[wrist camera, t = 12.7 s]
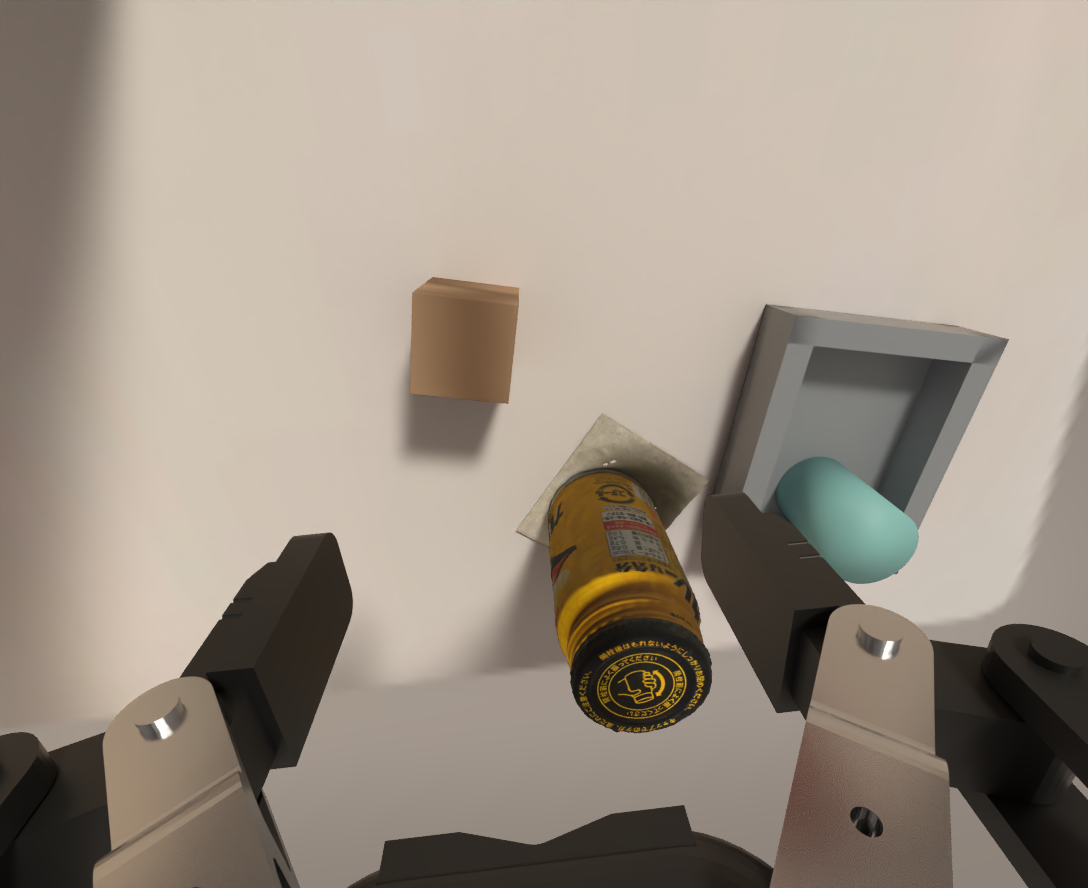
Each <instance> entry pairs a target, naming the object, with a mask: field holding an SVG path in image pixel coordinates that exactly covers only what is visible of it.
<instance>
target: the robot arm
mask: <svg viewBox="0 0 1088 888" xmlns="http://www.w3.org/2000/svg"><path fill="white" fill-rule="evenodd" d="M701 561H702V568H703V573H704V576H705V579H706V582H707V584H708V586H709V587H710V589H711V591H712V593H713V595H714V597H715V599H716V600H717V602H718V604H719V606H720V608H721V610H722V612H723V614H724V615H725V617H726V619H727V621H728V623H729V625H730V627H731V628H732V630H733V632H734V634H735V636H736V638H737V640H738V642H739V643H740V645H741V647H742V649H743V651H744V653H745V655H746V656H747V658H748V660H749V662H750V664H751V666H752V668H753V669H754V671H755V673H756V675H757V677H758V679H759V680H760V682H761V684H762V686H763V688H764V690H765V692H766V694H767V695H768V697H769V699H770V701H771V703H772V705H773V707H774V708H775V710H776V712H777V713H783V712H791V711H801V713H802V715H803V717H804V719H805V720H806V724H805V728H804V733H803V738H802V742H801V747H800V751H799V756H798V760H797V765H796V769H795V774H794V779H793V783H792V787H791V792H790V797H789V801H788V806H787V810H786V815H785V820H784V824H783V829H782V833H781V838H780V842H779V847H778V852H777V856H776V861H775V865H774V868H772V867H771V866H769V865H768V864H767V863H765V862H764V861H763V860H761V859H760V858H758V857H756V856H754V855H753V854H751V853H749V852H748V851H746V850H744V849H743V848H741V847H738V846H736V845H734V844H732V843H729V842H727V841H725V840H723V839H720V838H717V837H713V836H710V835H707V834H704V833H698V832H694V831H691V827H690V824H689V820H688V817H687V814H686V810H685V807H684V805H681V806H673V807H665V808H656V809H648V810H640V811H631V812H623V813H615V814H610V815H608V816H605V817H603V818H601V819H599V820H596V821H594V822H591V823H589V824H587V825H585V826H582V827H580V828H578V829H575V830H573V831H571V832H568V833H566V834H564V835H561V836H559V837H557V838H554V839H552V840H550V841H547V842H545V843H542V844H537V845H530V844H523V843H518V842H512V841H507V840H501V839H495V838H490V837H484V836H479V835H473V834H467V833H461V832H457V833H449V834H440V835H431V836H423V837H415V838H406V839H398V840H390V841H385V844H384V850H383V855H382V861H381V866H380V870H378V871H376V872H374V873H372V874H370V875H368V876H366V877H364V878H362V879H361V880H359V881H357V882H355V883H354V884H352V885H350V886H349V887H348V888H953V870H952V844H951V818H950V817H951V815H950V788H949V787H954V788H958V790H959V791H960V792H961V794H962V795H963V797H964V798H965V799H966V800H967V802H968V804H969V805H970V806H971V808H972V809H973V811H974V812H975V813H976V815H977V816H978V818H979V819H980V820H981V822H982V823H983V824H984V826H985V827H986V829H987V830H988V832H989V833H990V834H991V836H992V837H993V839H994V840H995V841H996V843H997V844H998V845H999V847H1000V848H1001V850H1002V851H1003V853H1004V854H1005V855H1006V857H1007V858H1008V860H1009V861H1010V862H1011V864H1012V865H1013V867H1014V868H1015V869H1016V871H1017V872H1018V874H1019V875H1020V876H1021V878H1022V879H1023V881H1024V882H1025V884H1026V885H1027V886H1028V887H1029V888H1088V800H1087V799H1086V797H1085V796H1084V795H1083V794H1082V793H1081V792H1080V791H1079V790H1078V789H1077V788H1076V786H1075V785H1073V783H1072V781H1073V779H1074V778H1075V776H1077V777H1078V778H1079V779H1080V780H1081V782H1082V783H1083V784H1084V785H1085V786H1086V787H1087V788H1088V646H1087V645H1085V644H1084V643H1082V642H1080V641H1078V640H1076V639H1074V638H1072V637H1069V636H1067V635H1065V634H1062V633H1059V632H1057V631H1054V630H1051V629H1047V628H1043V627H1039V626H1034V625H1027V624H1010V625H1005V626H1002V627H1000V628H998V629H996V630H995V632H994V633H993V635H992V637H991V640H990V642H989V645H988V647H987V648H984V647H976V646H969V645H962V644H955V643H947V642H940V641H933V640H929V639H928V637H927V636H926V635H925V633H923V631H922V630H921V629H920V628H918V627H917V626H916V625H915V624H914V623H912V622H911V621H909V620H908V619H906V618H904V617H903V616H901V615H899V614H897V613H894V612H892V611H890V610H887V609H884V608H881V607H877V606H872V605H865V603H864V602H863V601H862V600H861V599H860V598H859V597H858V596H857V595H856V594H855V592H854V591H853V590H852V589H851V588H850V587H849V586H848V585H847V584H846V582H845V581H844V580H843V579H842V578H841V577H840V576H839V575H838V574H837V572H836V571H835V570H834V569H833V568H832V567H831V566H830V565H829V564H828V563H827V561H826V560H825V559H824V558H823V557H822V558H821V557H820V554H819V553H818V551H817V550H816V549H815V548H814V547H813V546H812V545H811V544H808V540H807V539H806V538H805V537H804V536H803V535H802V534H801V533H800V532H799V530H798V529H797V528H796V527H795V526H794V525H793V524H791V523H789V522H788V521H786V520H784V519H783V518H781V517H779V516H777V515H776V514H774V513H772V512H768V513H762V512H761V511H760V510H759V509H758V508H757V506H756V505H755V504H754V503H753V502H752V500H751V499H750V498H749V497H748V496H747V495H746V494H745V493H744V492H736V493H726V494H716V495H708V496H707V497H706V500H705V504H704V518H703V533H702V548H701ZM352 608H353V598H352V591H351V587H350V583H349V580H348V576H347V573H346V570H345V566H344V563H343V559H342V556H341V553H340V549H339V546H338V543H337V540H336V538H335V536H334V535H333V534H332V533H321V534H311V535H301V536H294V537H292V538H291V539H290V541H289V542H288V544H287V545H286V547H285V548H284V550H283V552H282V553H281V555H280V556H279V558H278V559H277V561H276V562H269V563H267V564H266V565H264V566H263V567H262V568H261V569H260V570H258V571H257V572H256V573H255V574H253V575H252V576H251V577H250V578H249V579H247V580H246V582H245V583H244V584H243V586H242V587H241V589H240V590H239V592H238V593H237V595H236V596H235V598H234V599H233V603H230V605H229V606H228V608H227V609H226V611H225V612H224V614H223V615H222V619H221V620H219V621H218V622H217V624H216V625H215V627H214V628H213V630H212V631H211V633H210V634H209V635H208V637H207V638H206V640H205V641H204V643H203V644H202V646H201V647H200V649H199V650H198V651H197V653H196V654H195V656H194V657H193V659H192V660H191V662H190V663H189V665H188V666H187V667H186V669H185V670H184V672H183V673H182V675H181V676H180V678H177V679H173V680H170V681H168V682H165V683H162V684H160V685H158V686H156V687H154V688H152V689H150V690H148V691H147V692H145V693H143V694H142V695H140V696H139V697H137V698H136V699H135V700H133V701H132V702H131V703H130V704H128V705H127V706H126V707H125V708H124V709H123V710H122V711H121V712H120V713H119V714H118V715H117V716H116V717H115V718H114V720H113V721H112V723H111V724H110V726H109V727H108V729H107V731H106V732H104V733H101V734H99V735H96V736H93V737H90V738H87V739H84V740H82V741H79V742H76V743H73V744H70V745H68V746H65V747H62V748H59V749H56V750H53V751H50V752H47V751H46V749H45V748H44V747H43V745H42V744H41V743H40V741H39V740H38V738H37V737H35V736H34V735H33V734H30V733H25V732H18V733H10V734H6V735H2V736H0V888H300V886H299V883H298V881H297V878H296V876H295V873H294V870H293V867H292V865H291V862H290V859H289V857H288V854H287V851H286V849H285V846H284V843H283V840H282V838H281V835H280V832H279V830H278V827H277V824H276V822H275V819H274V816H273V814H272V811H271V809H270V806H269V803H268V800H267V798H266V796H265V793H264V791H263V789H262V787H263V785H264V783H265V780H266V778H267V775H268V773H269V770H270V769H277V768H286V767H294V766H296V765H297V763H298V760H299V757H300V754H301V752H302V749H303V746H304V744H305V741H306V738H307V736H308V733H309V730H310V727H311V724H312V722H313V719H314V716H315V714H316V711H317V708H318V706H319V703H320V701H321V698H322V695H323V692H324V690H325V687H326V684H327V682H328V679H329V676H330V674H331V671H332V668H333V665H334V663H335V660H336V657H337V655H338V652H339V649H340V647H341V644H342V641H343V639H344V636H345V633H346V630H347V628H348V625H349V622H350V619H351V615H352Z"/></svg>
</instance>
